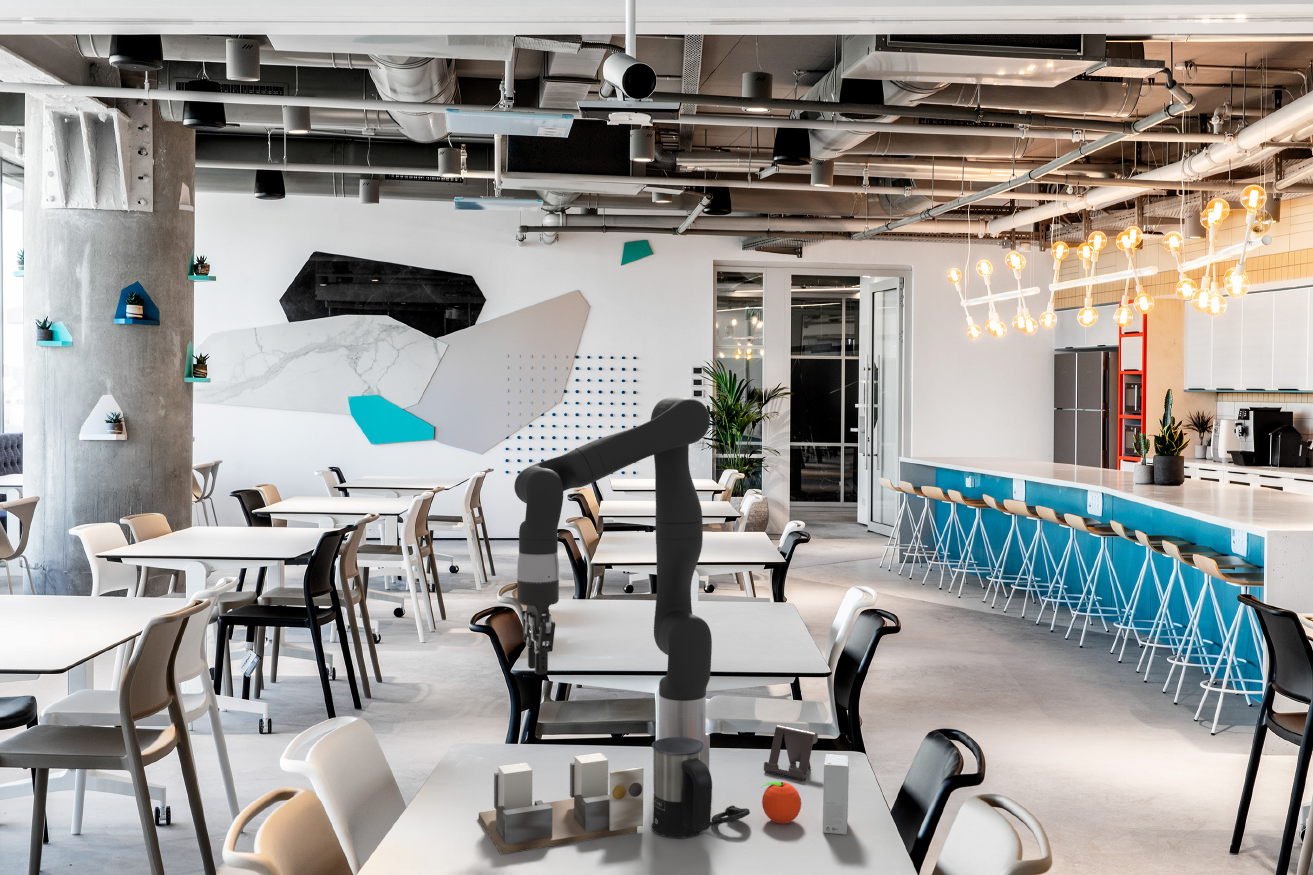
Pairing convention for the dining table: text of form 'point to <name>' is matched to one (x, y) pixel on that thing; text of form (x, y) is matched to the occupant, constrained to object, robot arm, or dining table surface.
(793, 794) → the clementine
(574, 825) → the button board
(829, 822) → the skincare box
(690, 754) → the milk frother
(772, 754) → the portable electronic device stand
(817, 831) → the dining table surface
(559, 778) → the dining table surface
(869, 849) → the dining table surface
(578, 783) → the button
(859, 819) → the dining table surface
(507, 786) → the button
